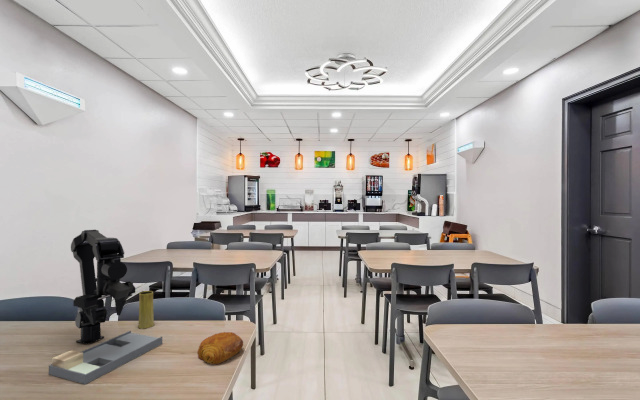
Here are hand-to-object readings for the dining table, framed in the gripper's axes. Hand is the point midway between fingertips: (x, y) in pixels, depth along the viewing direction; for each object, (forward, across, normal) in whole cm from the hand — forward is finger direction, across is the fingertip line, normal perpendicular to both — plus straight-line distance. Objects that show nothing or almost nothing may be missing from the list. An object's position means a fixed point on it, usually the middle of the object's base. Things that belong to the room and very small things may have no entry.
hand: (106, 319), depth 113 cm
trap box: (+12, -1, -4) cm, 13 cm away
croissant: (+12, +14, -37) cm, 41 cm away
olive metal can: (+12, +24, +8) cm, 28 cm away
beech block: (+10, -12, 0) cm, 16 cm away
